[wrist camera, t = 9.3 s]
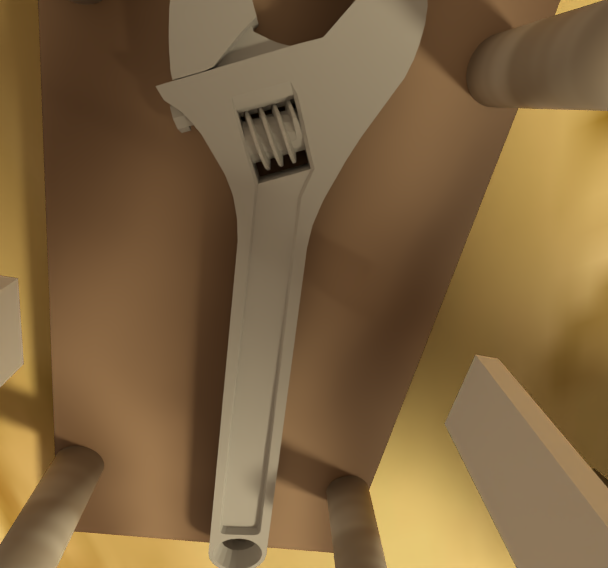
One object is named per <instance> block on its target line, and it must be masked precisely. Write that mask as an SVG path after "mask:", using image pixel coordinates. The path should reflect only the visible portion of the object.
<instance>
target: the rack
mask: <svg viewBox="0 0 608 568" xmlns="http://www.w3.org/2000/svg"><path fill="white" fill-rule="evenodd" d="M252 1H253V5H254V9H255V12H256V16H257V20H258V24H259V26H258V27H257V28H256V29H255V30H254V32H255V33H257V34H259V35H261V36H264V37H266V38H268V39H270V40H272V41H275V42H277V43H280V44H284V45H288V46H292V45H295V44H299V43H303V42H307V41H311V40H315V39H319V38H323V37H324V36H325V35H326V34H327V32H328V31H329V30H330V29H331V28H332V27H333V26H334V24H335V23H336V22H337V21H338V20H339V19H340V17H341V16H342V15H343V14H344V13H345V12H346V11H347V9H348V8H349V7H350V6H351V5H352V4H353V3H354V1H355V0H252ZM559 2H560V0H427V3H428V7H427V14H426V21H425V26H424V30H423V33H422V37H421V41H420V44H419V47H418V49H417V52H416V55H415V58H414V60H413V62H412V64H411V66H410V68H409V70H408V72H407V74H406V76H405V78H404V79H403V81H402V82H401V83H400V85H399V86H398V87H397V89H396V90H395V92H394V93H393V94H392V96H391V97H390V98H389V100H388V101H387V102H386V104H385V105H384V107H383V108H382V109H381V111H380V112H379V113H378V115H377V116H376V118H375V119H374V120H373V122H372V123H371V124H370V126H369V127H368V128H367V130H366V131H365V133H364V134H363V135H362V137H361V138H360V140H359V141H358V143H357V144H356V146H355V147H354V149H353V150H352V152H351V154H350V155H349V157H348V158H347V160H346V161H345V163H344V165H343V167H342V168H341V170H340V172H339V174H338V175H337V177H336V179H335V181H334V182H333V184H332V186H331V188H330V189H329V191H328V193H327V195H326V196H325V198H324V200H323V202H322V204H321V207H320V209H319V211H318V214H317V216H316V218H315V220H314V223H313V225H312V229H311V234H310V238H309V242H308V246H307V251H306V259H305V266H304V274H303V281H302V289H301V297H300V304H299V312H298V319H297V327H296V334H295V342H294V349H293V357H292V364H291V372H290V379H289V387H288V395H287V402H286V410H285V417H284V425H283V432H282V440H281V447H280V455H279V462H278V470H277V477H276V485H275V493H274V500H273V508H272V515H271V523H270V530H269V538H268V545H267V547H270V548H282V549H294V550H306V551H318V552H330V553H334V560H335V568H387V566H386V561H385V557H384V553H383V548H382V544H381V540H380V535H379V531H378V527H377V522H376V518H375V514H374V510H373V505H372V501H371V497H370V492H369V489H370V486H371V483H372V481H373V478H374V476H375V473H376V471H377V468H378V466H379V463H380V460H381V458H382V455H383V453H384V450H385V448H386V445H387V443H388V440H389V437H390V435H391V432H392V430H393V427H394V425H395V422H396V419H397V417H398V414H399V412H400V409H401V407H402V404H403V402H404V399H405V396H406V394H407V391H408V389H409V386H410V384H411V381H412V379H413V376H414V373H415V371H416V368H417V366H418V363H419V361H420V358H421V356H422V353H423V350H424V348H425V345H426V343H427V340H428V338H429V335H430V332H431V330H432V327H433V325H434V322H435V320H436V317H437V315H438V312H439V309H440V307H441V304H442V302H443V299H444V297H445V294H446V292H447V289H448V286H449V284H450V281H451V279H452V276H453V274H454V271H455V269H456V266H457V263H458V261H459V258H460V256H461V253H462V251H463V248H464V245H465V243H466V240H467V238H468V235H469V233H470V230H471V228H472V225H473V222H474V220H475V217H476V215H477V212H478V210H479V207H480V205H481V202H482V199H483V197H484V194H485V192H486V189H487V187H488V184H489V182H490V179H491V176H492V174H493V171H494V169H495V166H496V164H497V161H498V158H499V156H500V153H501V151H502V148H503V146H504V143H505V141H506V138H507V135H508V133H509V130H510V128H511V125H512V123H513V120H514V118H515V115H516V112H517V110H518V108H532V109H566V110H600V111H608V0H603V1H600V2H597V3H593V4H590V5H587V6H584V7H581V8H577V9H574V10H571V11H568V12H564V13H561V14H558V15H555V13H556V10H557V8H558V5H559ZM169 5H170V0H38V9H39V35H40V62H41V89H42V116H43V143H44V169H45V196H46V223H47V250H48V277H49V304H50V330H51V357H52V384H53V411H54V438H55V458H54V460H53V461H52V463H51V464H50V466H49V468H48V469H47V471H46V472H45V474H44V476H43V477H42V479H41V480H40V482H39V484H38V485H37V487H36V488H35V490H34V492H33V493H32V495H31V496H30V498H29V499H28V501H27V503H26V504H25V506H24V507H23V509H22V511H21V512H20V514H19V515H18V517H17V519H16V520H15V522H14V523H13V525H12V527H11V528H10V530H9V531H8V533H7V534H6V536H5V538H4V539H3V541H2V542H1V544H0V568H57V566H58V564H59V561H60V559H61V557H62V555H63V553H64V551H65V549H66V547H67V545H68V543H69V540H70V538H71V536H72V534H73V532H74V531H76V532H88V533H100V534H112V535H124V536H137V537H149V538H161V539H173V540H185V541H197V542H209V543H210V533H211V522H212V512H213V501H214V490H215V479H216V469H217V458H218V447H219V437H220V426H221V415H222V404H223V394H224V383H225V372H226V361H227V351H228V340H229V329H230V318H231V308H232V297H233V286H234V275H235V265H236V254H237V243H238V234H237V215H236V209H235V204H234V198H233V194H232V191H231V189H230V186H229V184H228V181H227V178H226V176H225V174H224V172H223V170H222V169H221V167H220V165H219V164H218V162H217V160H216V158H215V157H214V155H213V153H212V152H211V150H210V148H209V146H208V145H207V143H206V141H205V140H204V138H203V136H202V135H201V133H200V132H199V131H198V130H197V129H196V128H195V126H194V125H192V126H191V131H187V132H184V133H181V132H180V131H179V130H178V129H177V127H176V124H175V122H174V120H173V117H172V113H171V109H170V104H169V103H167V102H166V101H164V100H163V98H162V96H161V95H160V93H159V91H158V90H157V88H156V86H158V85H161V84H165V83H168V82H171V81H175V80H172V75H171V70H170V55H169ZM554 15H555V16H554ZM292 107H293V109H294V108H295V104H294V103H293V104H292ZM271 108H272V106H271ZM262 109H263V108H262ZM278 110H279V112H281V111H285V106H282V107H278ZM248 112H249V111H248ZM264 113H265V115H269V114H272V109H271V110H267V111H264ZM250 116H251V118H252V119H254V118H258V117H259V114H258V113H256V114H252V115H250ZM243 120H244V121H245V112H244V117H243ZM283 160H284V166H282V167H280V166H279V165H278V163H277V161H276V159H275V158H273V159H271V169H270V170H267V169H265V167H264V165H263V163H262V161H261V162H257V163H256V165H257V169H258V172H259V175H260V176H264V175H267V174H271V173H275V172H278V171H282V170H285V169H289V168H292V167H296V166H300V165H303V164H307V163H308V160H307V156H306V152H305V150H302V151H298V152H296V163H292V161H291V158H290V156H289V154H287V155H284V156H283ZM233 540H247V539H240V538H239V539H233Z"/></svg>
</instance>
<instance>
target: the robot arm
mask: <svg viewBox="0 0 608 568" xmlns="http://www.w3.org/2000/svg"><path fill="white" fill-rule="evenodd" d="M23 364H24V361H23V346H22V331H21V316H20V301H19V286H18V278H13V277H7V276H1V275H0V387H1V386H2V385H3V384H4V383H5V382H6V381H7V380H8V379H9V378H10V377H11V376H12V375H13V374H14V373H15V372H16V371H17V370H18V369H19V368H20V367H21V366H22V365H23ZM445 426H446V428H447V430H448V432H449V434H450V436H451V438H452V440H453V442H454V444H455V446H456V448H457V450H458V452H459V454H460V456H461V458H462V460H463V462H464V464H465V466H466V468H467V470H468V472H469V474H470V476H471V478H472V480H473V482H474V484H475V486H476V488H477V490H478V492H479V494H480V496H481V498H482V500H483V502H484V504H485V506H486V508H487V510H488V512H489V514H490V516H491V518H492V520H493V522H494V524H495V526H496V528H497V530H498V532H499V534H500V536H501V538H502V540H503V542H504V544H505V546H506V548H507V550H508V552H509V554H510V556H511V558H512V560H513V562H514V563H515V565H516V567H517V568H608V480H607V479H606V478H605V477H604V476H602V475H601V474H600V473H599V472H598V471H596V470H595V469H591V468H590V466H589V465H588V464H587V463H586V462H585V460H584V459H583V458H582V457H581V456H580V455H579V453H578V452H577V451H576V450H575V449H574V447H573V446H572V445H571V444H570V443H569V441H568V440H567V439H566V438H565V437H564V436H563V434H562V433H561V432H560V431H559V430H558V428H557V427H556V426H555V425H554V424H553V423H552V421H551V420H550V419H549V418H548V417H547V415H546V414H545V413H544V412H543V411H542V409H541V408H540V407H539V406H538V405H537V404H536V402H535V401H534V400H533V399H532V398H531V396H530V395H529V394H528V393H527V392H526V391H525V389H524V388H523V387H522V386H521V385H520V383H519V382H518V381H517V380H516V379H515V377H514V376H513V375H512V374H511V373H510V372H509V370H508V369H507V368H506V367H505V366H504V364H503V363H502V362H501V361H500V360H499V359H498V358H493V357H487V356H481V355H475V357H474V359H473V361H472V363H471V366H470V368H469V370H468V372H467V375H466V377H465V379H464V381H463V383H462V386H461V388H460V390H459V392H458V395H457V397H456V399H455V401H454V404H453V406H452V408H451V410H450V412H449V415H448V417H447V419H446V421H445Z"/></svg>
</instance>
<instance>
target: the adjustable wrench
mask: <svg viewBox="0 0 608 568" xmlns="http://www.w3.org/2000/svg"><path fill="white" fill-rule="evenodd" d="M427 7H428V3H427V0H355V1H354V3H353V4H352V5H351V6H350V7H349V8H348V9H347V11H346V12H345V13H344V14H343V15H342V16H341V17H340V19H339V20H338V21H337V22H336V23H335V24H334V26H333V27H332V28H331V29H330V30H329V31H328V32H327V34H326V35H325V36H324V37H323V38H319V39H315V40H311V41H307V42H303V43H299V44H295V45H292V46H288V45H284V44H280V43H277V42H275V41H272V40H270V39H268V38H266V37H264V36H261V35H259V34H257V33H255V32H254V30H255V29H256V28H257V27H258V26H259V24H258V20H257V16H256V12H255V9H254V5H253V1H252V0H170V5H169V55H170V70H171V75H172V80H175V81H171V82H168V83H165V84H161V85H158V86H156V88H157V90H158V91H159V93H160V95H161V96H162V98H163V100H164V101H166V102H167V103H169V104H170V109H171V113H172V117H173V120H174V122H175V124H176V127H177V129H178V130H179V131H180V132H181V133H184V132H187V131H191V126H192V125H194V126H195V128H196V129H197V130H198V131H199V132H200V133H201V135H202V136H203V138H204V140H205V141H206V143H207V145H208V146H209V148H210V150H211V152H212V153H213V155H214V157H215V158H216V160H217V162H218V164H219V165H220V167H221V169H222V170H223V172H224V174H225V176H226V178H227V181H228V184H229V186H230V189H231V191H232V194H233V198H234V204H235V209H236V215H237V234H238V243H237V254H236V265H235V275H234V286H233V297H232V308H231V318H230V329H229V340H228V351H227V361H226V372H225V383H224V394H223V404H222V415H221V426H220V437H219V447H218V458H217V469H216V479H215V490H214V501H213V512H212V522H211V533H210V544H209V558H210V560H211V561H212V563H213V564H214V565H216V566H217V567H219V568H255V567H257V566H259V565H260V564H261V563H262V562H263V561H264V559H265V557H266V553H267V545H268V538H269V530H270V523H271V515H272V508H273V500H274V493H275V485H276V477H277V470H278V462H279V455H280V447H281V440H282V432H283V425H284V417H285V410H286V402H287V395H288V387H289V379H290V372H291V364H292V357H293V349H294V342H295V334H296V327H297V319H298V312H299V304H300V297H301V289H302V281H303V274H304V266H305V259H306V251H307V246H308V242H309V238H310V234H311V229H312V225H313V223H314V220H315V218H316V216H317V214H318V211H319V209H320V207H321V204H322V202H323V200H324V198H325V196H326V195H327V193H328V191H329V189H330V188H331V186H332V184H333V182H334V181H335V179H336V177H337V175H338V174H339V172H340V170H341V168H342V167H343V165H344V163H345V161H346V160H347V158H348V157H349V155H350V154H351V152H352V150H353V149H354V147H355V146H356V144H357V143H358V141H359V140H360V138H361V137H362V135H363V134H364V133H365V131H366V130H367V128H368V127H369V126H370V124H371V123H372V122H373V120H374V119H375V118H376V116H377V115H378V113H379V112H380V111H381V109H382V108H383V107H384V105H385V104H386V102H387V101H388V100H389V98H390V97H391V96H392V94H393V93H394V92H395V90H396V89H397V87H398V86H399V85H400V83H401V82H402V81H403V79H404V78H405V76H406V74H407V72H408V70H409V68H410V66H411V64H412V62H413V60H414V58H415V55H416V52H417V49H418V47H419V44H420V41H421V37H422V33H423V30H424V26H425V21H426V14H427ZM293 103H294V104H295V108H294V109H293V107H292V104H293ZM271 106H272V108H271ZM282 106H285V111H281V112H279V110H278V107H282ZM262 108H263V109H262ZM271 109H272V114H269V115H265V113H264V111H267V110H271ZM248 111H249V112H248ZM244 112H245V121H244V120H243V117H244ZM256 113H258V114H259V117H258V118H254V119H252V118H251V116H250V115H252V114H256ZM302 150H305V152H306V156H307V160H308V163H307V164H303V165H300V166H296V167H292V168H289V169H285V170H282V171H278V172H275V173H271V174H267V175H264V176H260V175H259V172H258V169H257V165H256V163H257V162H261V161H262V163H263V165H264V167H265V169H267V170H270V169H271V159H273V158H275V159H276V161H277V163H278V165H279V166H280V167H282V166H284V160H283V156H284V155H287V154H289V156H290V158H291V161H292V163H296V152H298V151H302ZM239 538H240V539H247V540H233V539H239Z"/></svg>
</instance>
